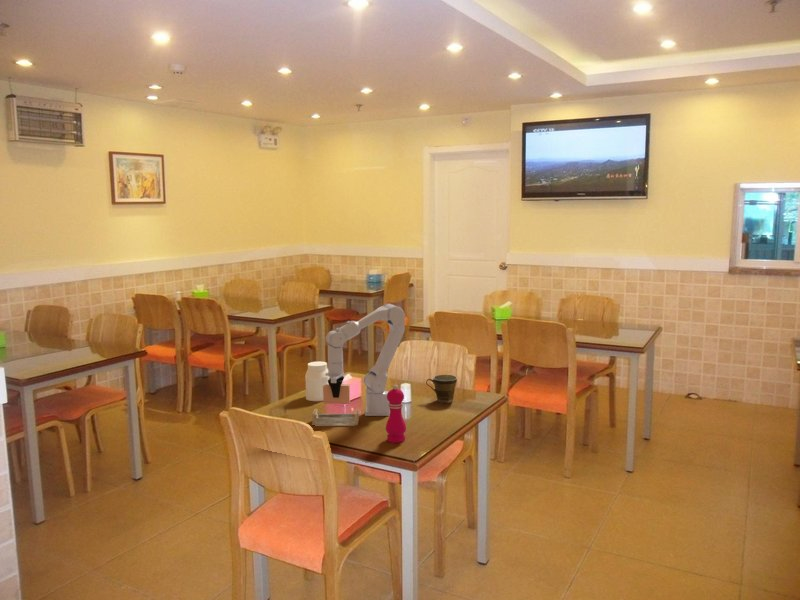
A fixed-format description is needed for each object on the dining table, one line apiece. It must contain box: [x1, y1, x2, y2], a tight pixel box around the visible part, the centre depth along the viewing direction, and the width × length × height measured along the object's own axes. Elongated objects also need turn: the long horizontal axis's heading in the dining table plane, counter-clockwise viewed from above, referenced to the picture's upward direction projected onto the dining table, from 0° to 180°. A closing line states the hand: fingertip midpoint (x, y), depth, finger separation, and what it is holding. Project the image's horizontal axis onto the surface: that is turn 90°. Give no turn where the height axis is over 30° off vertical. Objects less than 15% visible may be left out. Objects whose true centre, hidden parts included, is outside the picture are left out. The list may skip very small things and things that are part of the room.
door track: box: [311, 407, 360, 427], centre depth 248 cm, size 17×8×4 cm, turn 89°
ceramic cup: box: [425, 374, 458, 404], centre depth 274 cm, size 13×10×10 cm
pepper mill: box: [385, 384, 407, 444], centre depth 228 cm, size 7×7×20 cm
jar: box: [304, 360, 330, 402], centre depth 281 cm, size 12×10×15 cm
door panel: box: [322, 383, 351, 405], centre depth 252 cm, size 10×2×7 cm, turn 88°
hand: (336, 396), depth 252 cm, fingers closed on door panel, 2 cm apart
